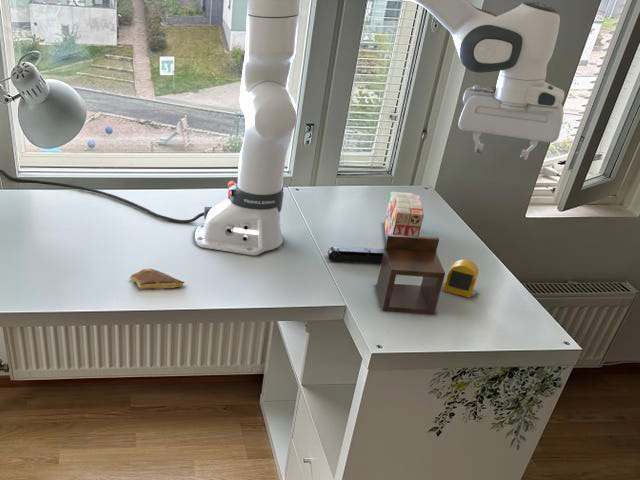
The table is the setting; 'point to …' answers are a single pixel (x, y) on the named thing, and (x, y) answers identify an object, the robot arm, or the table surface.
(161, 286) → the shard
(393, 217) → the stack of blocks
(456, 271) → the tape measure
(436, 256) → the shelf
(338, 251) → the tablet stand
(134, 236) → the table surface
